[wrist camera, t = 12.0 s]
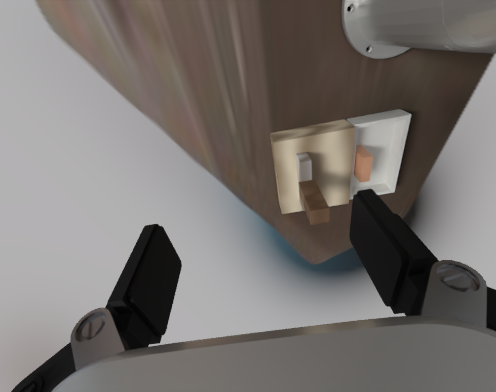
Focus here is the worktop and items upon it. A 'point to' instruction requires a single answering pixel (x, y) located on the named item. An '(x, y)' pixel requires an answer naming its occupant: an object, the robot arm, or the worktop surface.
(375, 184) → the box
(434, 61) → the worktop surface
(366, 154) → the block
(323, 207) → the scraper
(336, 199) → the board
